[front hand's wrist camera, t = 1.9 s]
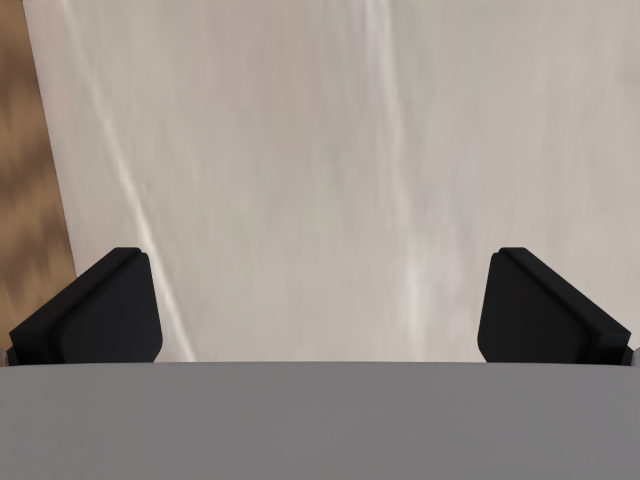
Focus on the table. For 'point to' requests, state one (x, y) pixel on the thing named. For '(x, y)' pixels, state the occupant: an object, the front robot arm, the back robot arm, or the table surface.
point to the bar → (26, 186)
